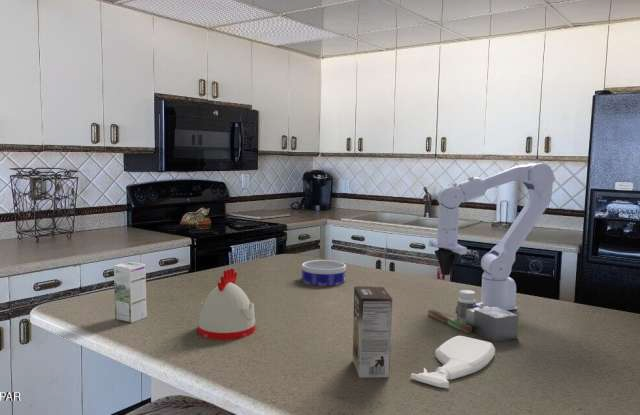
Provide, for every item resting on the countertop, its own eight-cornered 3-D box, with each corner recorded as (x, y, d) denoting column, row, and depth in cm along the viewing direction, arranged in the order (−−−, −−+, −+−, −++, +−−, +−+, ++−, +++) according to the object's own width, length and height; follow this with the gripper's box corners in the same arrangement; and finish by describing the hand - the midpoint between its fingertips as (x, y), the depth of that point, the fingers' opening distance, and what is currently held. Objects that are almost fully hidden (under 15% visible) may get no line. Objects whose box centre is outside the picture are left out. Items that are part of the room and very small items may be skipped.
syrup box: (147, 317, 136) (146, 263, 135) (130, 323, 131) (129, 267, 130) (131, 314, 139) (130, 260, 137) (113, 320, 134) (112, 264, 132)
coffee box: (351, 360, 111) (353, 285, 109) (381, 359, 111) (383, 285, 110) (358, 378, 102) (360, 297, 100) (390, 377, 102) (393, 297, 101)
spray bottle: (499, 356, 115) (456, 398, 96) (452, 345, 122) (403, 382, 102) (499, 343, 115) (457, 383, 95) (452, 332, 121) (403, 367, 102)
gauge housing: (494, 328, 133) (496, 306, 132) (517, 338, 126) (518, 315, 126) (473, 332, 130) (474, 309, 130) (494, 342, 123) (496, 318, 123)
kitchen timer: (264, 325, 133) (265, 267, 131) (239, 342, 120) (239, 278, 118) (216, 318, 137) (216, 262, 136) (186, 335, 124) (186, 273, 123)
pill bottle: (475, 326, 135) (476, 294, 134) (456, 324, 136) (458, 293, 135) (474, 320, 139) (476, 290, 139) (456, 319, 141) (458, 288, 140)
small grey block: (486, 324, 136) (487, 300, 135) (506, 333, 129) (507, 307, 129) (465, 328, 133) (466, 302, 132) (484, 336, 126) (485, 310, 126)
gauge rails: (459, 310, 148) (460, 305, 148) (500, 327, 134) (501, 322, 134) (428, 314, 144) (428, 309, 144) (467, 333, 129) (467, 327, 129)
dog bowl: (346, 287, 173) (346, 269, 173) (300, 286, 174) (300, 268, 173) (344, 276, 189) (345, 260, 188) (302, 275, 189) (302, 259, 188)
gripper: (421, 225, 155) (419, 270, 157) (453, 232, 142) (451, 281, 144) (440, 225, 158) (438, 268, 160) (473, 231, 145) (471, 279, 147)
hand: (445, 274), depth 152 cm, fingers closed
